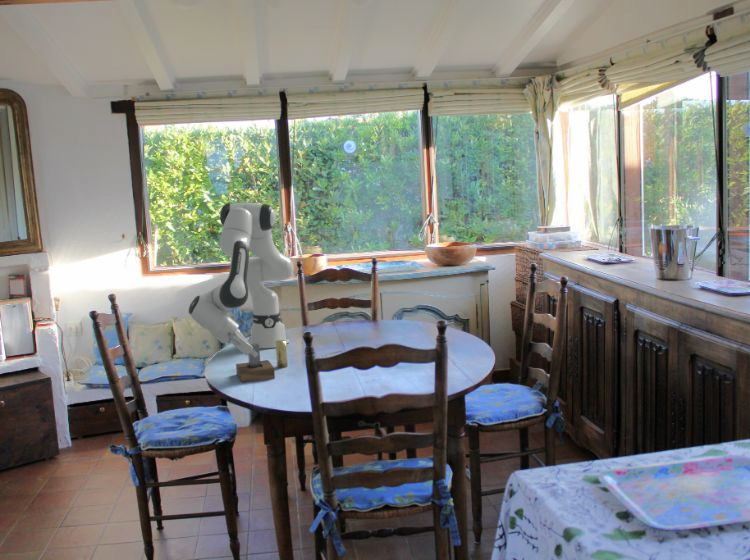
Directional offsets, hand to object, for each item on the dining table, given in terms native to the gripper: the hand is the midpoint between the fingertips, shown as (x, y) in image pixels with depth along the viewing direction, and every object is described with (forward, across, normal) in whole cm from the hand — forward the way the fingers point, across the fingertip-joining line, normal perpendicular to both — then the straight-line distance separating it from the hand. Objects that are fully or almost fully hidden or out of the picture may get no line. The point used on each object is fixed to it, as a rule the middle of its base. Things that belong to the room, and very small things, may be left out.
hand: (255, 354), depth 265 cm
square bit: (+4, 0, +5) cm, 6 cm away
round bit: (+14, +9, -2) cm, 17 cm away
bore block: (+5, 0, +6) cm, 8 cm away
